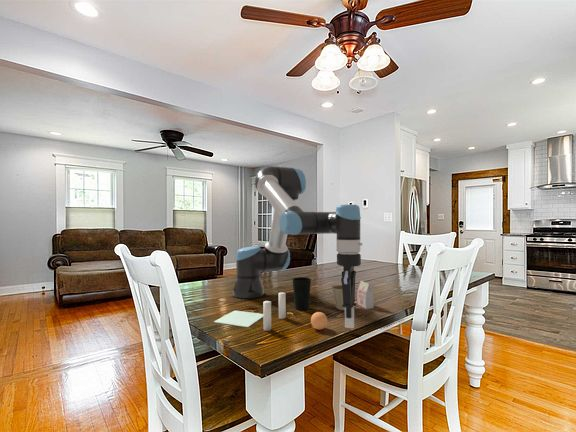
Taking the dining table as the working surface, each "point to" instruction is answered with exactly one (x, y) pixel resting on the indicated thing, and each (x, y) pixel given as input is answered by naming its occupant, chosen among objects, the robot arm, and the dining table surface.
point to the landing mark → (240, 318)
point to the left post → (267, 315)
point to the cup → (301, 292)
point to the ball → (319, 320)
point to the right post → (282, 305)
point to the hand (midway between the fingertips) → (349, 327)
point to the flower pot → (338, 296)
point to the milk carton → (365, 296)
